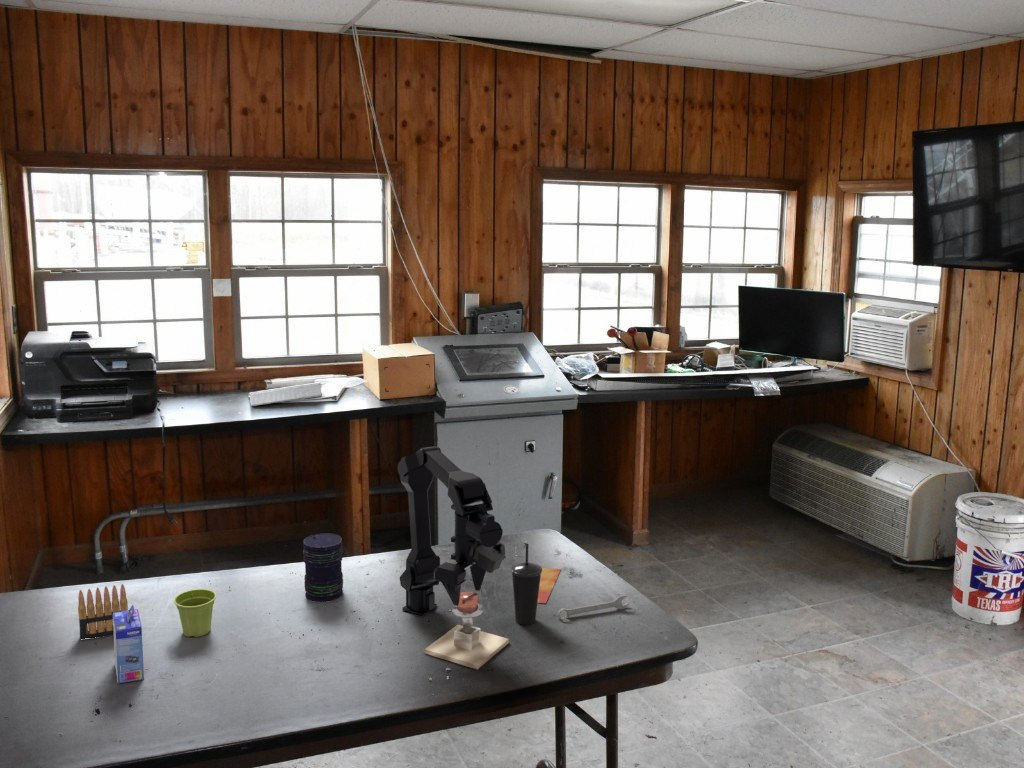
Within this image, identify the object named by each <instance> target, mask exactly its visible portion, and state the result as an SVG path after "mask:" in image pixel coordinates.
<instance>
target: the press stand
mask: <svg viewBox="0 0 1024 768" xmlns="http://www.w3.org/2000/svg"><path fill="white" fill-rule="evenodd" d="M481 630H482V629H481V628H480V627H477V626H472V627H468V628H467V627H463V626H462V624H457V625H455V626H454V627H452V628H451V629H450V630H449V631H447V632H446V633H445V634H443V635H442V636H441V637H439V638H438V639H437V640H435V641H433V642H432V643H431V644H429V645H428V646H427V647H426V648H424V654H425V655H429V656H432V657H436V658H438V659H441V660H446V661H449V662H452V663H456V664H458V665H462V666H464V667H469V668H471V669H474V670H477V671H478V670H479V669H480V668H482V667H483V666H484V665H485V664H486V663H487V662H488V661H489V660H491V659H492V658H493V657H494V656H495V655H496V654H498V653H499V652H500V651H501V650H502V649H503V648H505V647H506V646H507V645H508V644H510V643H509V640H510V638H506V637H503V636H499V635H497V634H493V633H489V632H486V631H481Z"/></svg>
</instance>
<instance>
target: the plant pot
mask: <svg viewBox="0 0 1024 768" xmlns="http://www.w3.org/2000/svg"><path fill="white" fill-rule="evenodd" d="M216 599H217V593H216V592H215V591H213V590H211V589H207V588H205V589H204V588H197V589H195V588H194V589H190V590H186V591H183V592H181V593H179V594H177V595H176V596H175V597H174V599H173V603H174V605H175V606H176V609H177V610H178V614H179V619H180V624H181V628H182V633H183V635H184V636H186V637H189V638H190V637H195V638H197V637H198V638H199V637H203V636H205V635H207V634H208V633H209V632H210V630H211V629H212V620H213V619H212V617H213V610H214V609H213V608H214V604H215V600H216Z"/></svg>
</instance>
